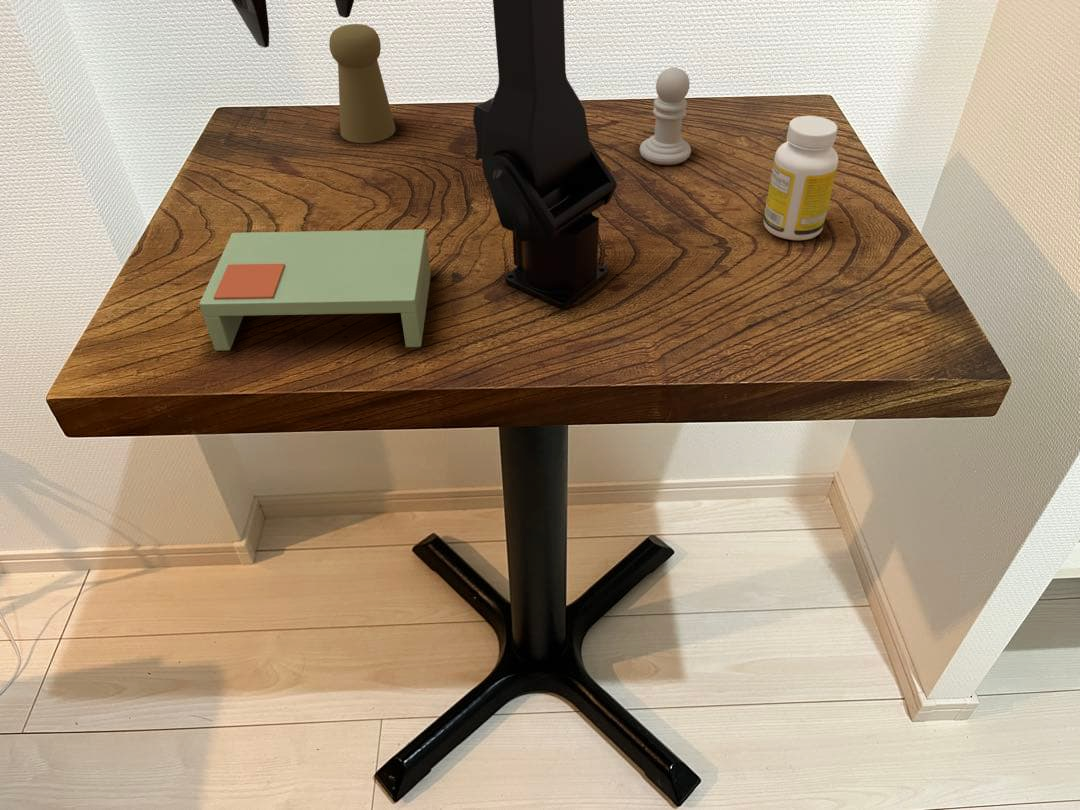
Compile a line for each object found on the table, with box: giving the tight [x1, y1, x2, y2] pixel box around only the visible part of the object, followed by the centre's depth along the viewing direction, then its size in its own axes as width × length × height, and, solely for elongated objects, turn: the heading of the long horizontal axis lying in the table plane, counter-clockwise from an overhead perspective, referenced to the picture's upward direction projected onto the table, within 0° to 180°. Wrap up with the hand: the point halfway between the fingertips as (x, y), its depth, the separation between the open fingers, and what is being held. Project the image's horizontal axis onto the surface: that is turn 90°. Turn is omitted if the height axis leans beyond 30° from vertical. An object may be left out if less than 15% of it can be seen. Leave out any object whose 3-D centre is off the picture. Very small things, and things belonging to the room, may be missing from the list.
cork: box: [328, 23, 396, 144], centre depth 91 cm, size 6×6×11 cm
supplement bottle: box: [763, 115, 839, 241], centre depth 76 cm, size 5×5×10 cm
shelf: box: [199, 228, 432, 352], centre depth 69 cm, size 10×16×5 cm, turn 91°
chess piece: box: [639, 67, 692, 166], centre depth 87 cm, size 5×5×9 cm
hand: (305, 30), depth 77 cm, fingers open, 9 cm apart
